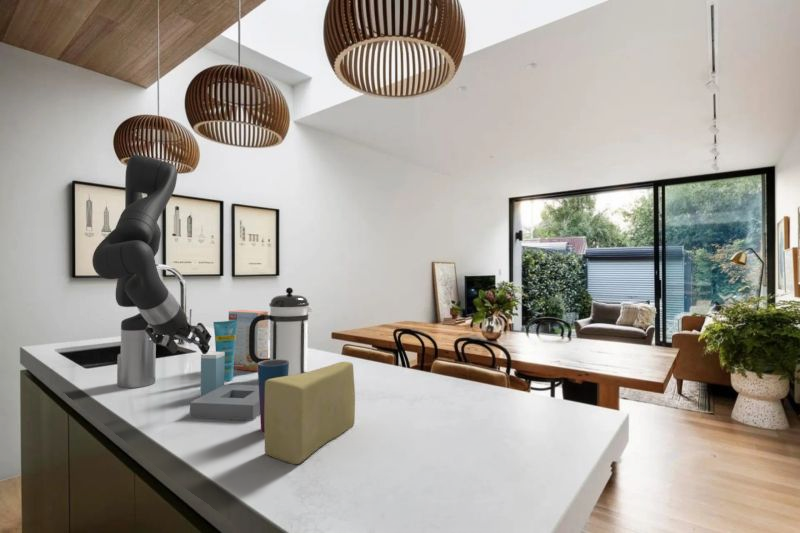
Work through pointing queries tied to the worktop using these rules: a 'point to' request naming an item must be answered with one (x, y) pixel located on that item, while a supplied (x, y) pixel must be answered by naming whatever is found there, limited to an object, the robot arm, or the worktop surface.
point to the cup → (269, 371)
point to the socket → (228, 403)
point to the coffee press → (285, 331)
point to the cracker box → (242, 339)
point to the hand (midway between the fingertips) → (190, 350)
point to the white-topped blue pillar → (212, 371)
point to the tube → (226, 344)
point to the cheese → (308, 411)
